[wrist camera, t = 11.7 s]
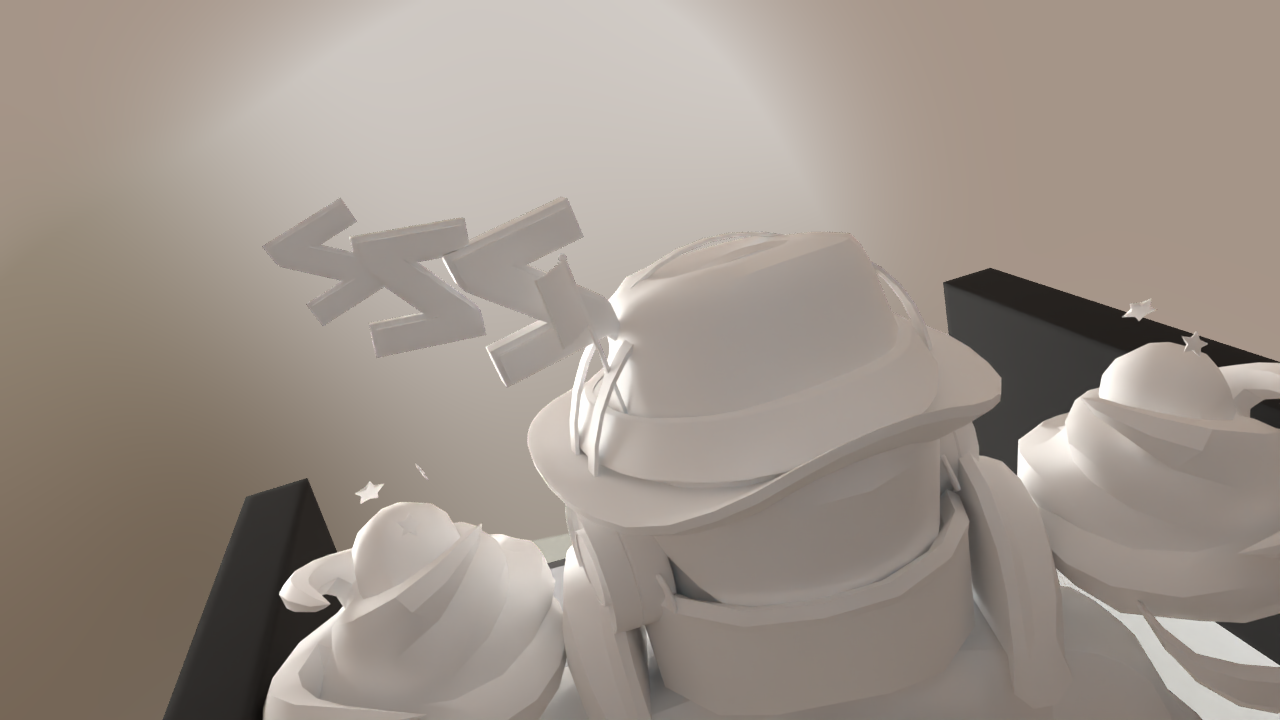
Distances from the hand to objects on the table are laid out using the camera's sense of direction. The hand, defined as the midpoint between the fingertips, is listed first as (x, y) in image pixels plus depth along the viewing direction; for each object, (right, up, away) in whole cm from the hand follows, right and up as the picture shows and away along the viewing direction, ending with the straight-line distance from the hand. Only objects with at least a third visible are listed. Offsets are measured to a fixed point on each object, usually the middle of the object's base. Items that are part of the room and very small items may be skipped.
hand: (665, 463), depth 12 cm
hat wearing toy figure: (+3, -8, -2) cm, 9 cm away
